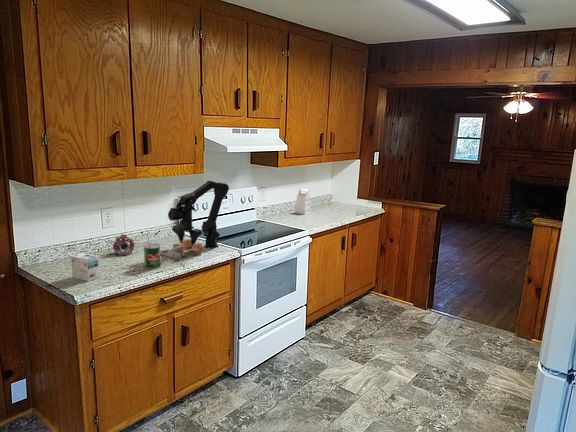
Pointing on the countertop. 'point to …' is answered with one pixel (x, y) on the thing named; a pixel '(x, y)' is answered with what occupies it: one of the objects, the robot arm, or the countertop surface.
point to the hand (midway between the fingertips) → (187, 244)
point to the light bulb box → (85, 266)
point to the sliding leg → (184, 245)
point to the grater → (302, 203)
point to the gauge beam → (190, 249)
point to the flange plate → (174, 255)
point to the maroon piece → (123, 245)
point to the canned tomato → (152, 256)
